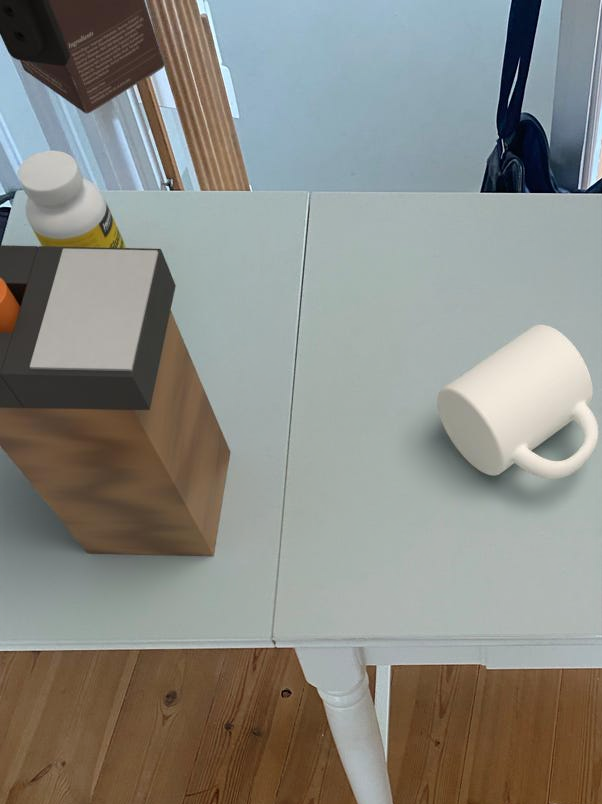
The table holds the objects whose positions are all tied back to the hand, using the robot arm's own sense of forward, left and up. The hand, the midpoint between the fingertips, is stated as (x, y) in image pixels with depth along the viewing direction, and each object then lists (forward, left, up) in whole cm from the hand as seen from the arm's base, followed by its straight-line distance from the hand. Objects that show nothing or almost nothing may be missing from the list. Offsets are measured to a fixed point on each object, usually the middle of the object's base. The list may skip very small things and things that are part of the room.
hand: (71, 8), depth 48 cm
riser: (+6, -11, -31) cm, 33 cm away
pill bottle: (-16, +1, -31) cm, 35 cm away
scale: (+6, -11, -13) cm, 18 cm away
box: (0, 0, -4) cm, 4 cm away
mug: (+25, +13, -31) cm, 41 cm away
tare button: (+3, -14, -11) cm, 18 cm away
